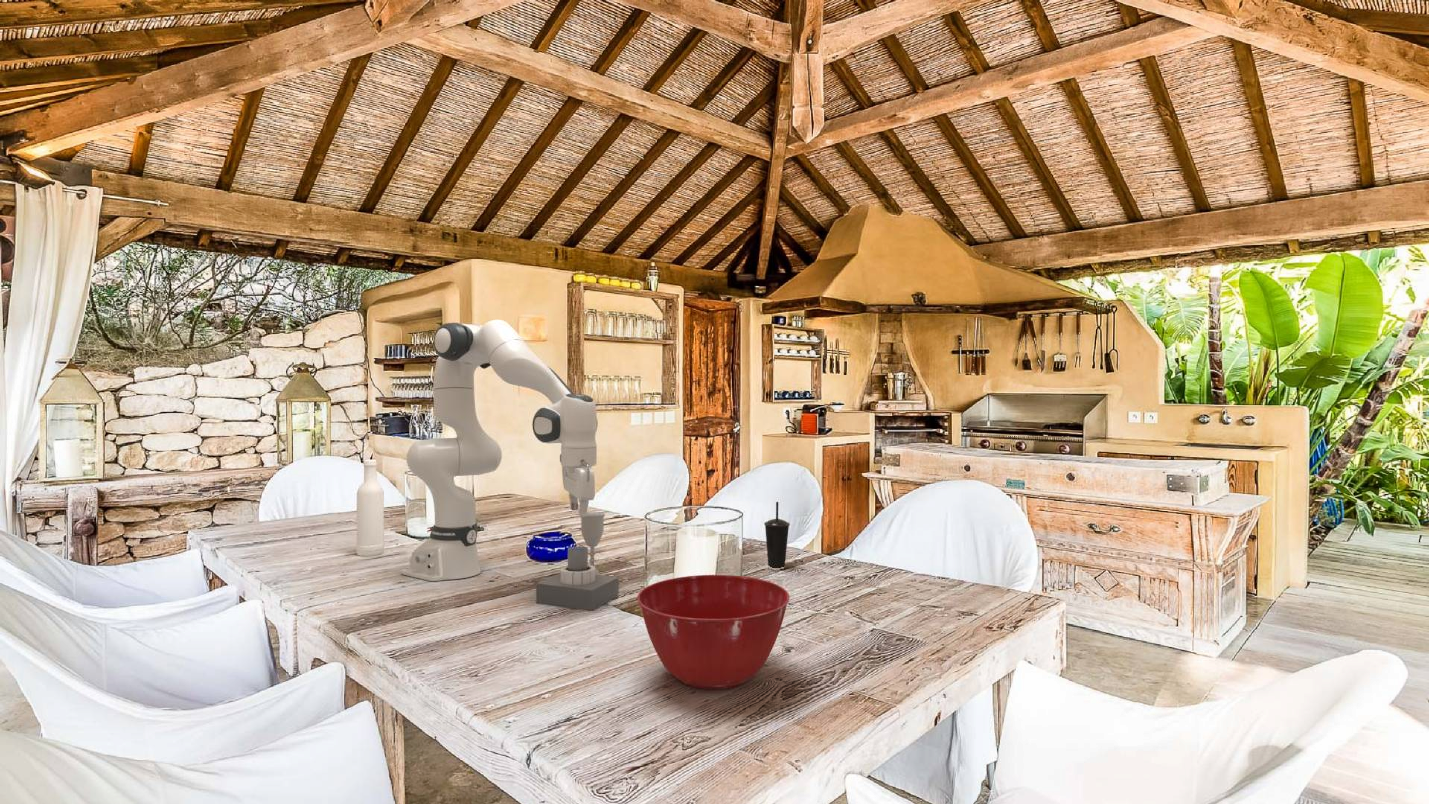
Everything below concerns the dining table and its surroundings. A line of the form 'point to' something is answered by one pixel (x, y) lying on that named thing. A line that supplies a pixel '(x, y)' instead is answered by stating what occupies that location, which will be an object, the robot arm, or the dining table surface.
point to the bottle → (370, 513)
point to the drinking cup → (776, 541)
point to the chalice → (592, 532)
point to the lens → (577, 559)
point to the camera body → (577, 589)
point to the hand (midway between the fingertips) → (578, 513)
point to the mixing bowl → (713, 626)
